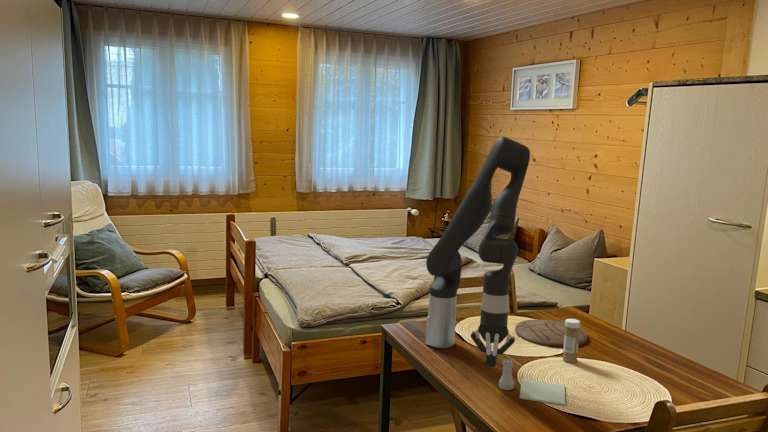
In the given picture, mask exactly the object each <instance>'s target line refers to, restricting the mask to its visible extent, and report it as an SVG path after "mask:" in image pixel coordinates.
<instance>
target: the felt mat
mask: <svg viewBox="0 0 768 432" xmlns="http://www.w3.org/2000/svg"><path fill="white" fill-rule="evenodd" d="M565 388H566V387H565V385H564V384H557V383H551V382H546V381H538V380H531V379H524V378H521V382H520V391H519V400H520V399H522V400H527V401H536V402H541V403H548V404H554V405H560V406H566V390H565Z"/></svg>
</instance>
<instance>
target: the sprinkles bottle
mask: <svg viewBox="0 0 768 432" xmlns="http://www.w3.org/2000/svg"><path fill="white" fill-rule="evenodd" d="M564 323H565V335H564V348H562V349H563V352H562V353H563V354H562V355H563V356H562V361H563V362H565V363H568V362H569V363H568V364H574V363H577V362H578V351H579V346H578V337H579V328H581V321H580V320H579V319H576V318H566V319H565V321H564Z"/></svg>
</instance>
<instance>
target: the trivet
mask: <svg viewBox="0 0 768 432" xmlns="http://www.w3.org/2000/svg"><path fill="white" fill-rule="evenodd" d="M514 331H516V332H515V334H516V333H517V334H516V335H517V337H518V338H520V337H521V338H520V339H522V340H524V341H526V342H528V343H530V344H531V343H532V344H535V345H539V346H544V347H549V348H556V349H557V348H559V349H561V348H562V349H563V348H564V335H565V321H564V322H563V321H559V320H554V319H553V320H551V319H541V318H540V319H534V318H533V319H526V320H522V321H520V322H518V323H516V325H515V329H514ZM587 340H588V334H587V332H586V330H584V329H582V328H581V327H580V328H579V337H578V347H580V346H583V345H584V344H586V343H587Z"/></svg>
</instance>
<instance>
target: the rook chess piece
mask: <svg viewBox="0 0 768 432" xmlns="http://www.w3.org/2000/svg"><path fill="white" fill-rule="evenodd" d="M501 364H502V366H503V367H502V373H501V374H502V375H501V377H500V379H499V381H498V387H499V388H500V389H501V390H504V391H511V390H513V389H515V382H514V379H513V373H512V372H513V369H514V368H512V367H513V366H514V364H515V363H514V362H513V360H512V359H510V358H504V359H503V361H502V363H501Z"/></svg>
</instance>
